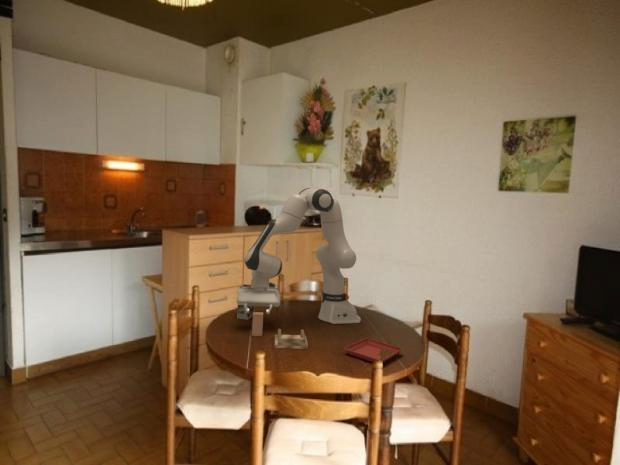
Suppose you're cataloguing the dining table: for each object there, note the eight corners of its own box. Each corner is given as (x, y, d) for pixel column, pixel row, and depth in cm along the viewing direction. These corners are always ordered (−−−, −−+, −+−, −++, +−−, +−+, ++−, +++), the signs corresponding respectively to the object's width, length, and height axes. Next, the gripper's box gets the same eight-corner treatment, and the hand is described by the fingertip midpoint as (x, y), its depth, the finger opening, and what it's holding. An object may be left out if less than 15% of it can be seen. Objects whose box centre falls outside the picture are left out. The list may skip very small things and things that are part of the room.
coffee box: (248, 320, 207) (250, 288, 205) (236, 318, 208) (237, 287, 206) (254, 315, 216) (256, 285, 214) (243, 313, 217) (244, 283, 215)
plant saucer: (342, 355, 170) (343, 347, 170) (365, 344, 184) (366, 337, 184) (381, 368, 159) (381, 360, 158) (402, 356, 172) (403, 348, 172)
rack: (305, 337, 186) (306, 329, 186) (307, 348, 173) (308, 339, 173) (274, 337, 185) (275, 328, 184) (274, 348, 172) (275, 338, 172)
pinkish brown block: (262, 333, 189) (263, 312, 188) (261, 336, 185) (263, 314, 184) (252, 333, 188) (253, 312, 187) (251, 335, 185) (252, 314, 184)
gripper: (237, 283, 194) (234, 309, 185) (280, 285, 196) (279, 310, 187) (238, 290, 199) (235, 315, 190) (280, 292, 201) (279, 317, 192)
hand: (257, 313), depth 189 cm, fingers open, 8 cm apart
